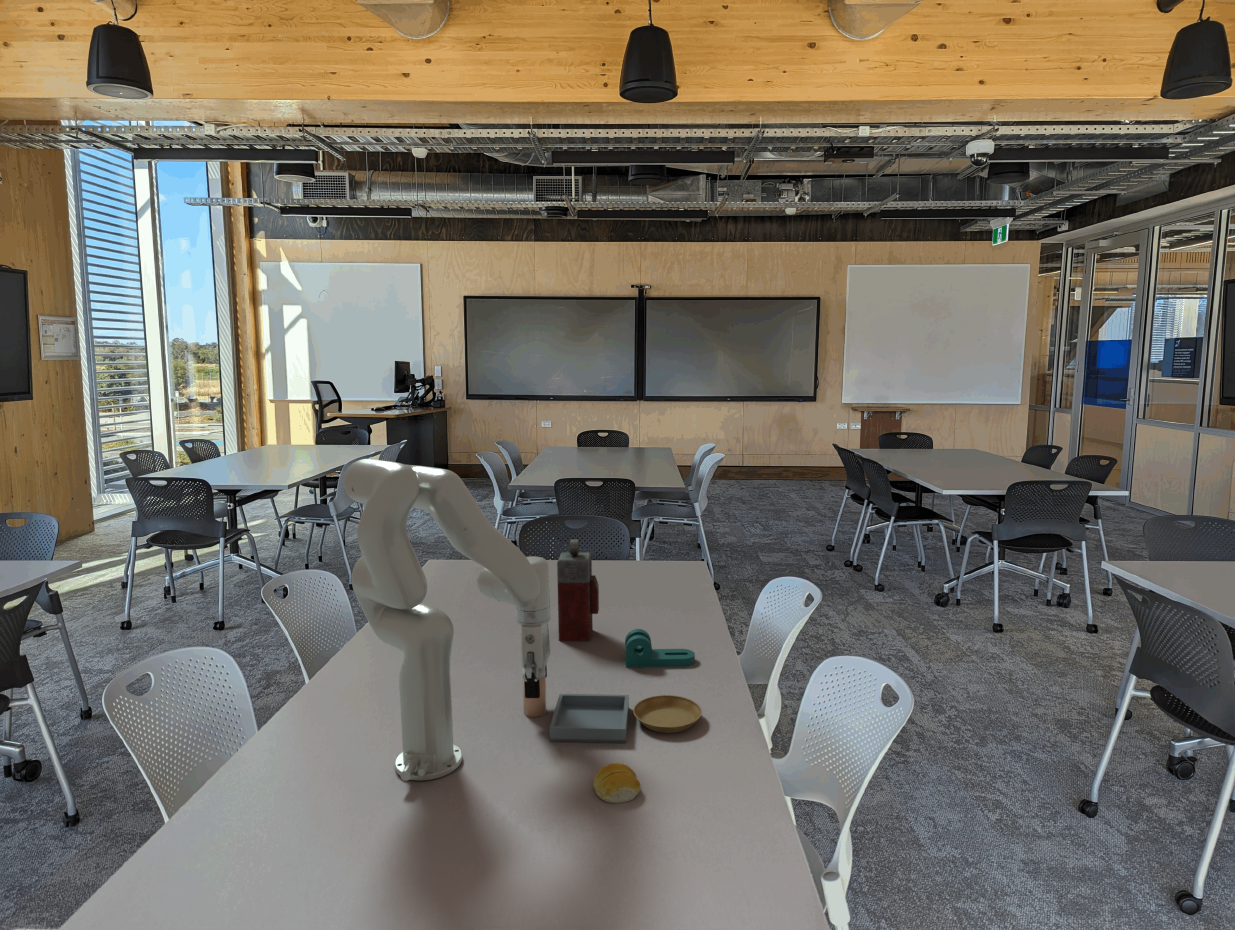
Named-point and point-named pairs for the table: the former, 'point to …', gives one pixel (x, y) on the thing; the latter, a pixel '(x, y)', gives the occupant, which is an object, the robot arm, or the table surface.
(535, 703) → the shaker
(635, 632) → the bracket
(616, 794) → the bread roll
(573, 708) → the slate tray
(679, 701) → the plant saucer
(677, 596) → the table surface
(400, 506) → the robot arm
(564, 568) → the red gray rectangular canister
